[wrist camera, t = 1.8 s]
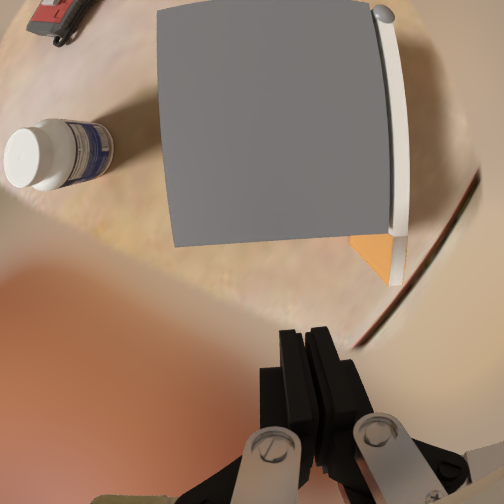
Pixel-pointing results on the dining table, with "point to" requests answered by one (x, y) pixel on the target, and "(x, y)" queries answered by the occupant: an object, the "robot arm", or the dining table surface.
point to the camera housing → (272, 121)
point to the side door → (391, 162)
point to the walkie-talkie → (58, 18)
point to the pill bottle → (57, 154)
